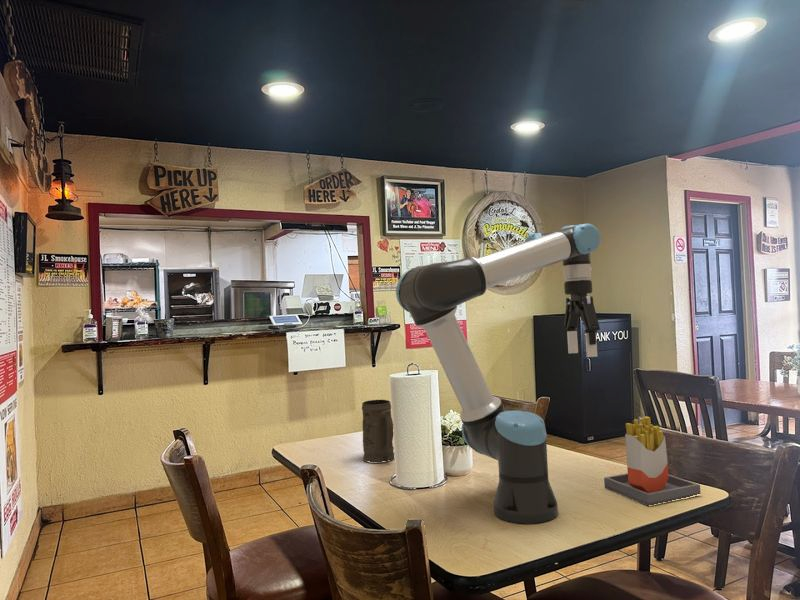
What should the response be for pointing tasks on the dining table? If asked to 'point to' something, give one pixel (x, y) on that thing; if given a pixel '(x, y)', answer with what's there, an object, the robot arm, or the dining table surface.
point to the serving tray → (671, 491)
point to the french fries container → (646, 456)
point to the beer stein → (377, 431)
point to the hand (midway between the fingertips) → (582, 355)
